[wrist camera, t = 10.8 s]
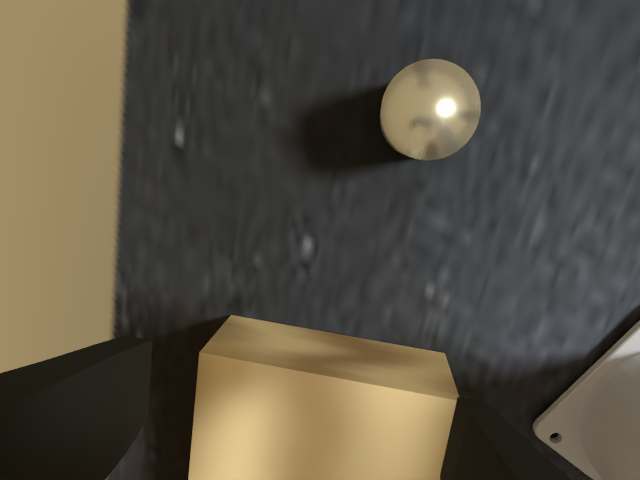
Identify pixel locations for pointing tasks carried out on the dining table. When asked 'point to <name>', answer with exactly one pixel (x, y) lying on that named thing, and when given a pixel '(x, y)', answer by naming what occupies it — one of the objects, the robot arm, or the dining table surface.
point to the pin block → (317, 406)
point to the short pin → (430, 110)
